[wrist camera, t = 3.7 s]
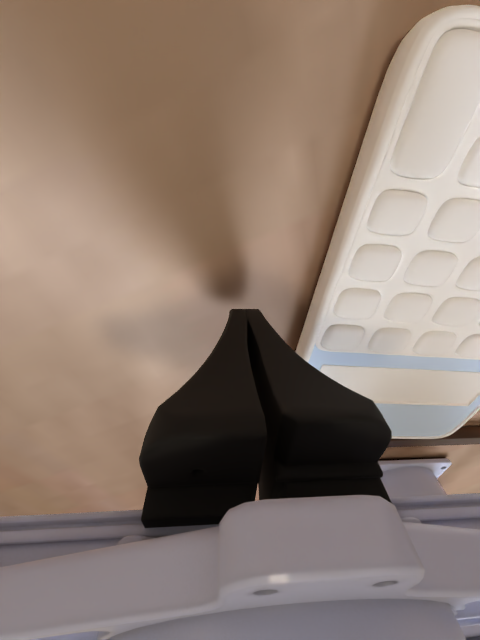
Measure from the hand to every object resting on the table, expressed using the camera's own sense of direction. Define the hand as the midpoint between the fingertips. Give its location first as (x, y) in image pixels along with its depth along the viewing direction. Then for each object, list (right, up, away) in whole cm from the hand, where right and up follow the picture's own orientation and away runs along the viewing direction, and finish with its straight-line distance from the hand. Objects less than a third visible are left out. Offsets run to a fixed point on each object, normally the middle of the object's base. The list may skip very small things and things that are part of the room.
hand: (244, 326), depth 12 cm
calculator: (+10, +1, +2) cm, 10 cm away
